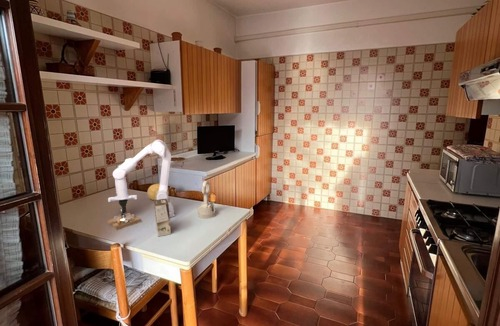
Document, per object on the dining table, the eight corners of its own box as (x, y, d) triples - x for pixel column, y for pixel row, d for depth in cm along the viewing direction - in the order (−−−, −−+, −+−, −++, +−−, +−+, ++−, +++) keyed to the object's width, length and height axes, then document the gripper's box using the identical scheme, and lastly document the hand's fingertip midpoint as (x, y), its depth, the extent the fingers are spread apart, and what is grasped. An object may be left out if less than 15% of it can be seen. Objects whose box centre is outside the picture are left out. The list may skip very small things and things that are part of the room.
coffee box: (171, 234, 132) (168, 203, 129) (157, 236, 130) (155, 206, 126) (169, 226, 140) (166, 198, 137) (156, 229, 138) (153, 199, 134)
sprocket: (131, 213, 153) (130, 205, 152) (137, 219, 145) (136, 211, 144) (111, 218, 147) (110, 210, 146) (115, 225, 139) (114, 216, 138)
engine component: (195, 218, 151) (211, 219, 149) (193, 183, 147) (210, 184, 145) (202, 210, 161) (218, 211, 159) (200, 178, 157) (216, 179, 155)
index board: (141, 221, 147) (140, 214, 146) (117, 230, 137) (116, 222, 136) (130, 215, 155) (130, 208, 154) (107, 222, 146) (106, 215, 145)
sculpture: (154, 203, 175) (152, 187, 173) (145, 199, 183) (143, 184, 180) (169, 198, 184) (168, 183, 181) (160, 194, 191) (158, 180, 189)
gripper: (136, 185, 151) (139, 208, 154) (109, 188, 148) (112, 211, 151) (134, 189, 145) (137, 212, 147) (105, 192, 141) (109, 215, 144)
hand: (124, 212), depth 149 cm, fingers closed, pressing on sprocket
